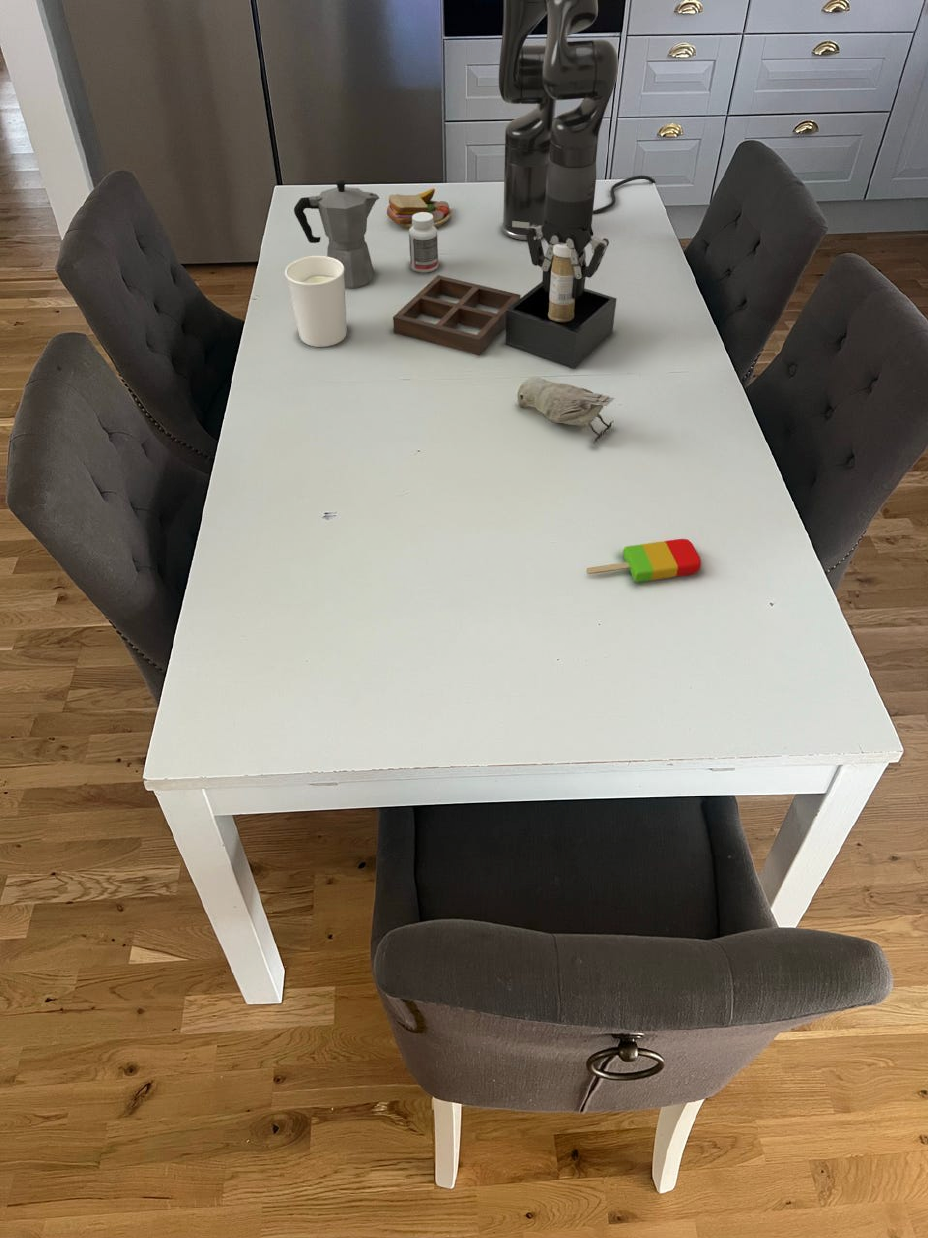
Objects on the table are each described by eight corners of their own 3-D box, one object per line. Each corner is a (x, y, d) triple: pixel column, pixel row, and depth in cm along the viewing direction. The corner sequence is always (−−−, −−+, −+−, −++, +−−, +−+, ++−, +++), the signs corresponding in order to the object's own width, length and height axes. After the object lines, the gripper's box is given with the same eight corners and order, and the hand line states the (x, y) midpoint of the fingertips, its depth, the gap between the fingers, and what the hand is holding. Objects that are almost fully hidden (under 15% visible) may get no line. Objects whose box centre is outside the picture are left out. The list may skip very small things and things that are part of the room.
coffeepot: (380, 261, 179) (373, 165, 166) (388, 284, 173) (381, 187, 160) (301, 270, 177) (287, 174, 164) (306, 294, 171) (292, 196, 158)
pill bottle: (444, 266, 178) (442, 216, 171) (423, 276, 175) (421, 225, 168) (425, 257, 181) (423, 207, 173) (404, 266, 178) (401, 216, 171)
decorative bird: (528, 397, 148) (530, 357, 142) (616, 432, 142) (622, 391, 136) (509, 414, 145) (511, 373, 140) (598, 450, 139) (604, 408, 133)
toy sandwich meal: (456, 228, 189) (456, 205, 185) (391, 235, 187) (390, 211, 184) (445, 202, 197) (444, 180, 194) (382, 208, 195) (381, 186, 192)
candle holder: (284, 343, 160) (273, 277, 151) (311, 315, 166) (302, 251, 157) (335, 354, 157) (327, 288, 148) (360, 326, 163) (354, 261, 154)
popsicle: (702, 574, 121) (705, 563, 119) (592, 591, 119) (593, 580, 117) (687, 546, 124) (689, 535, 123) (580, 562, 123) (581, 551, 121)
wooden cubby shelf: (438, 289, 172) (437, 274, 170) (520, 310, 167) (520, 294, 164) (393, 332, 162) (392, 316, 160) (479, 355, 157) (479, 339, 154)
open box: (546, 311, 166) (548, 276, 162) (612, 333, 161) (616, 298, 156) (505, 344, 159) (506, 309, 154) (573, 368, 154) (576, 333, 149)
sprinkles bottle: (575, 311, 158) (582, 234, 148) (572, 324, 155) (579, 247, 145) (548, 308, 159) (554, 232, 149) (545, 322, 156) (550, 244, 146)
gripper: (622, 188, 141) (610, 292, 154) (537, 172, 146) (532, 274, 158) (605, 207, 137) (594, 313, 149) (518, 190, 141) (514, 294, 154)
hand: (562, 293), depth 154 cm, fingers closed on sprinkles bottle, 4 cm apart
